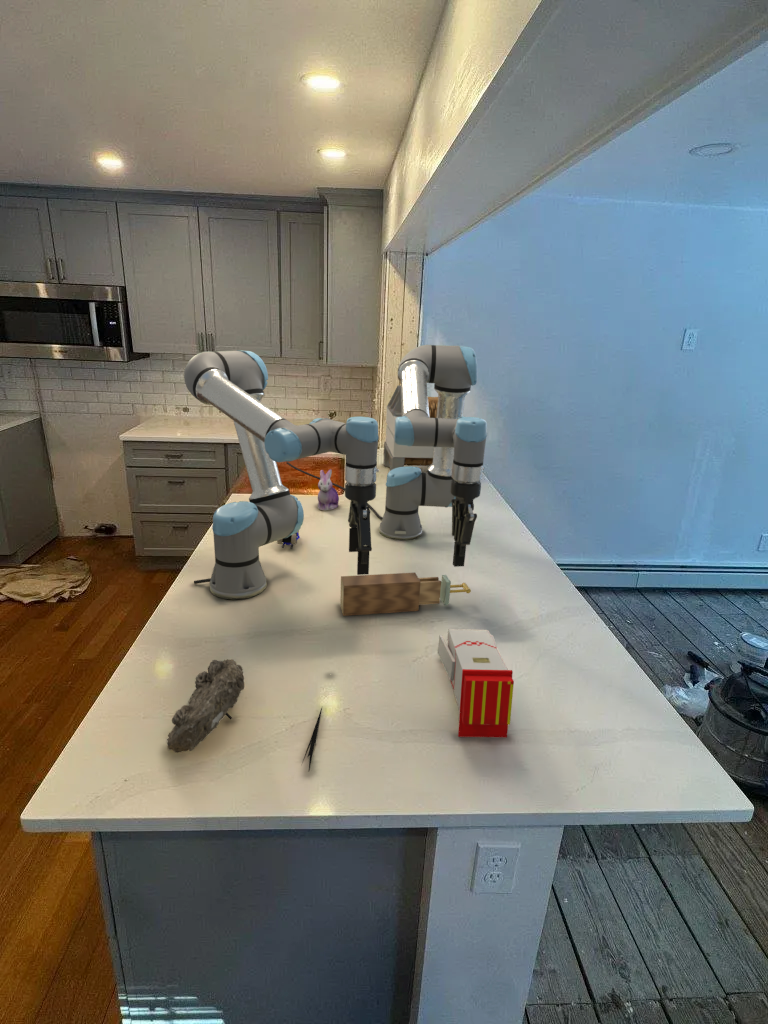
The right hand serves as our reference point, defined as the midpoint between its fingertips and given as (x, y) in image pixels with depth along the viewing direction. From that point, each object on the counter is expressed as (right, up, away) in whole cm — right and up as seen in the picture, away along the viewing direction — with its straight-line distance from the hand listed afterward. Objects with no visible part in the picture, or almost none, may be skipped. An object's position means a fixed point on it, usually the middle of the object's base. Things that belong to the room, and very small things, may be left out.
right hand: (458, 565), depth 150 cm
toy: (-2, -24, -32) cm, 40 cm away
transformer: (-2, +33, +125) cm, 129 cm away
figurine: (-42, +16, +73) cm, 85 cm away
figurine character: (-51, +4, +38) cm, 64 cm away
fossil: (-52, -25, -42) cm, 72 cm away
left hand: (-26, +1, -6) cm, 27 cm away
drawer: (-9, -10, +2) cm, 14 cm away
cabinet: (-21, -11, 0) cm, 24 cm away
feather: (-32, -26, -42) cm, 59 cm away
